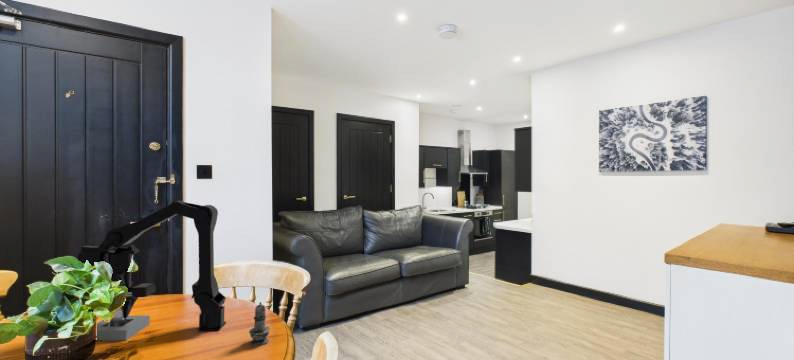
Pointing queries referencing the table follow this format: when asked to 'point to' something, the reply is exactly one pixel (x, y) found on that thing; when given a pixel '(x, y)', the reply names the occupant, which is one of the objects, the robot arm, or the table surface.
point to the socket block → (121, 328)
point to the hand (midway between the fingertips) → (118, 317)
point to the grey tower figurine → (259, 327)
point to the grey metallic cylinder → (118, 318)
